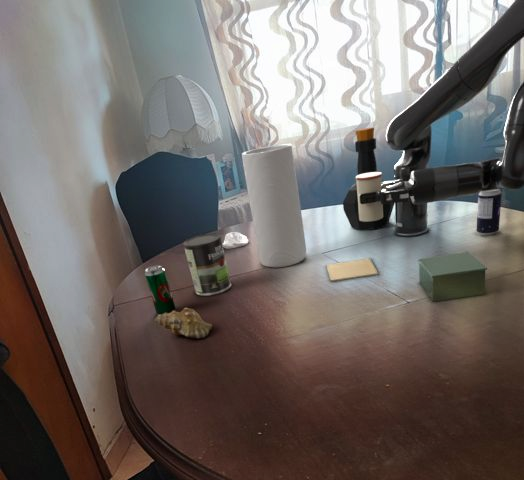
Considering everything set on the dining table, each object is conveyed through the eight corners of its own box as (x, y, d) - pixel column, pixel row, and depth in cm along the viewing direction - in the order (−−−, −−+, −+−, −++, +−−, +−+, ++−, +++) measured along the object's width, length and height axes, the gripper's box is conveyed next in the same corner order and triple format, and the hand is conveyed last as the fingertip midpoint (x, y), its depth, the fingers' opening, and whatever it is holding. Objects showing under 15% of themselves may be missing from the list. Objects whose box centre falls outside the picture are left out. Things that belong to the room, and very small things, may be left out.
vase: (313, 251, 142) (300, 141, 127) (297, 268, 131) (280, 150, 116) (271, 252, 149) (254, 147, 133) (252, 269, 138) (231, 156, 123)
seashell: (181, 357, 103) (150, 324, 100) (184, 346, 111) (155, 315, 108) (213, 332, 102) (182, 297, 99) (214, 322, 109) (185, 290, 106)
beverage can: (500, 234, 127) (504, 190, 121) (478, 237, 129) (480, 192, 123) (496, 229, 132) (499, 185, 126) (474, 231, 133) (476, 188, 128)
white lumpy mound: (231, 227, 168) (252, 228, 163) (234, 239, 171) (254, 240, 165) (213, 236, 162) (234, 237, 156) (216, 248, 164) (236, 249, 158)
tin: (418, 283, 108) (418, 259, 105) (466, 276, 107) (467, 251, 104) (432, 302, 99) (432, 276, 96) (485, 294, 97) (487, 267, 95)
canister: (357, 217, 114) (353, 175, 109) (381, 213, 113) (379, 170, 108) (360, 223, 109) (357, 179, 104) (386, 219, 108) (384, 174, 103)
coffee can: (238, 282, 130) (228, 233, 123) (217, 297, 123) (204, 245, 116) (210, 280, 135) (198, 233, 129) (187, 294, 128) (174, 245, 121)
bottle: (363, 217, 167) (357, 126, 153) (404, 219, 156) (402, 121, 141) (336, 230, 158) (327, 135, 144) (377, 233, 147) (372, 131, 132)
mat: (326, 266, 129) (326, 264, 129) (369, 259, 128) (369, 258, 128) (330, 281, 119) (330, 280, 118) (378, 274, 117) (378, 273, 117)
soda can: (158, 310, 122) (144, 267, 116) (176, 306, 122) (164, 263, 116) (155, 317, 117) (141, 273, 112) (175, 314, 117) (162, 269, 112)
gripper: (426, 163, 110) (355, 174, 113) (441, 172, 98) (360, 185, 101) (426, 195, 114) (357, 205, 117) (440, 208, 101) (362, 220, 104)
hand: (359, 196), depth 109 cm, fingers closed on canister, 5 cm apart
